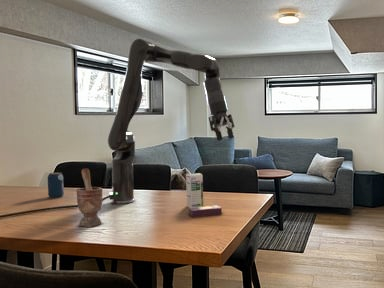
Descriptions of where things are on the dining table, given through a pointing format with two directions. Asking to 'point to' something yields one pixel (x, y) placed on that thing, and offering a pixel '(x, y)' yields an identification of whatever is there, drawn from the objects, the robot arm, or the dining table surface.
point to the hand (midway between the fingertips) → (225, 139)
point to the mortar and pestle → (89, 201)
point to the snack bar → (205, 211)
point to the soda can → (55, 185)
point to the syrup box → (194, 190)
